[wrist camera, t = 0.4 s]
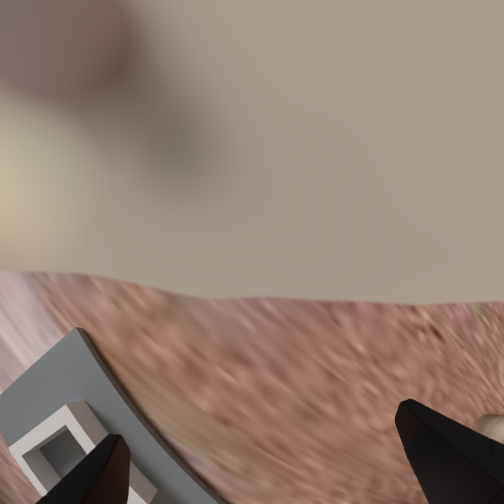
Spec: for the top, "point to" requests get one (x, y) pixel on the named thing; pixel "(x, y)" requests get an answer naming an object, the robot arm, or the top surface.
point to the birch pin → (491, 426)
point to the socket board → (88, 426)
